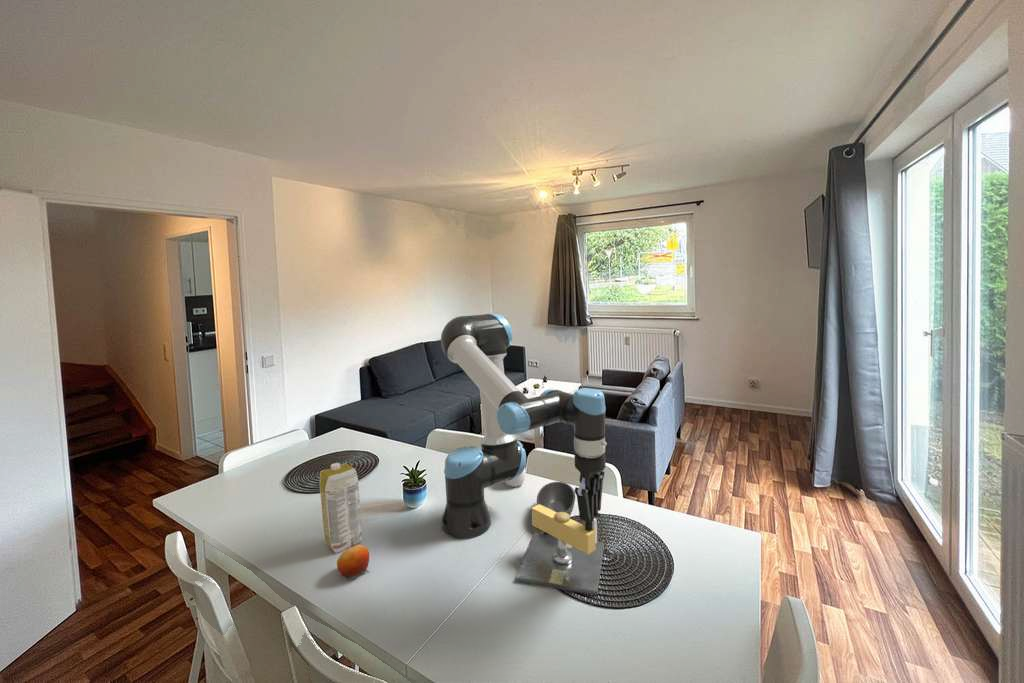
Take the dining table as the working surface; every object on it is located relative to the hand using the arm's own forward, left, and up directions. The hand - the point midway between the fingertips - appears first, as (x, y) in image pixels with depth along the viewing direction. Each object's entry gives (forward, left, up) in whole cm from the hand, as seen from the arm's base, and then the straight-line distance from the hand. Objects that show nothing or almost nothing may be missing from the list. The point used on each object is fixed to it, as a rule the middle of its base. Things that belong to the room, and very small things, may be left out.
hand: (590, 541), depth 109 cm
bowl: (-14, +25, -9) cm, 30 cm away
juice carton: (-71, -5, -9) cm, 71 cm away
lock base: (-8, +2, -9) cm, 12 cm away
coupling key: (-8, +2, -1) cm, 8 cm away
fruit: (-60, -15, -9) cm, 62 cm away
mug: (-35, +43, -9) cm, 56 cm away
